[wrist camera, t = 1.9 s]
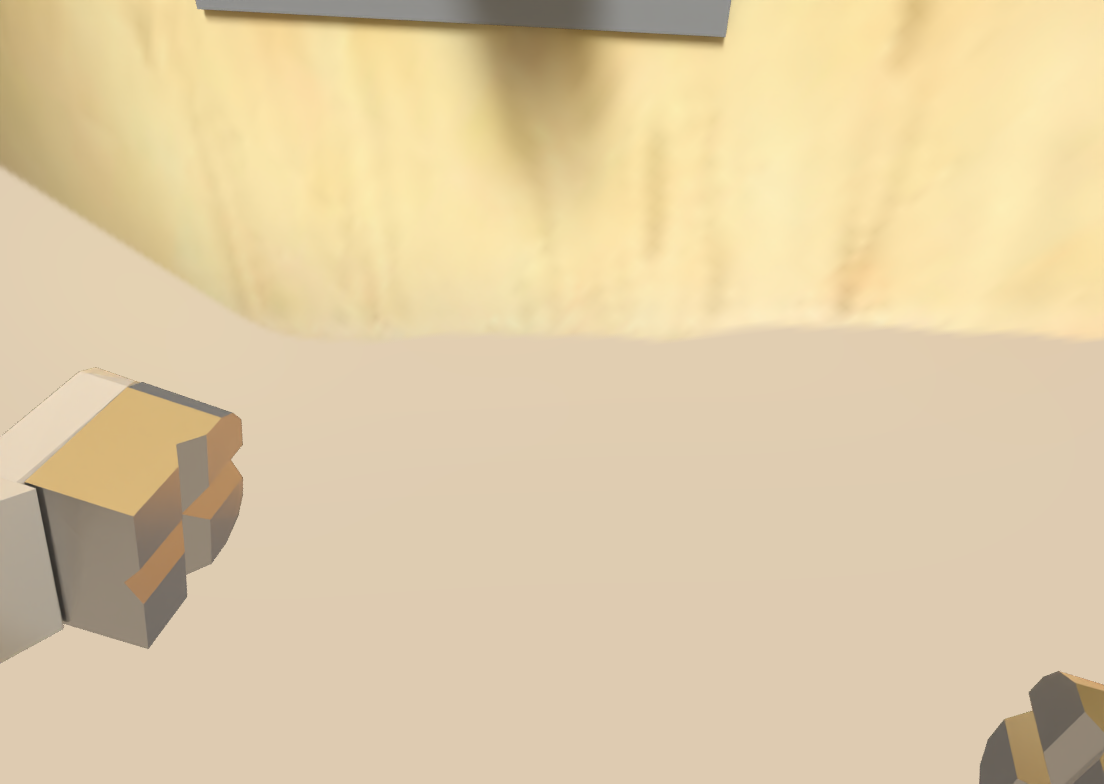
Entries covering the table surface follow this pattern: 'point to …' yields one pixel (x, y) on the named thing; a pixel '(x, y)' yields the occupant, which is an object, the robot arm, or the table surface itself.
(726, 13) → the mat
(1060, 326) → the table surface
